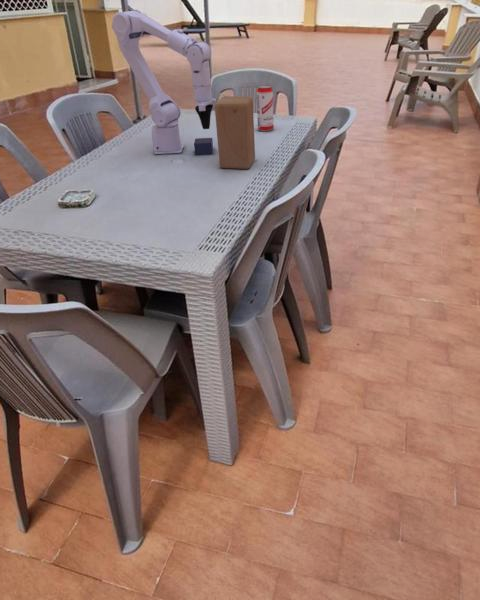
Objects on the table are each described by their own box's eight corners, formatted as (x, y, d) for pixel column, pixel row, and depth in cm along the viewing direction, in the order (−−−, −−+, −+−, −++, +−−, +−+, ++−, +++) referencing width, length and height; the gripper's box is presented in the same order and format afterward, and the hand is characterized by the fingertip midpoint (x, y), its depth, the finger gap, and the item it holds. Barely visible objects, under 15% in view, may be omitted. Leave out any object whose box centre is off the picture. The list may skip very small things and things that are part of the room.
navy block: (195, 155, 161) (193, 143, 158) (196, 149, 165) (195, 138, 163) (212, 154, 161) (211, 142, 158) (213, 149, 165) (212, 137, 163)
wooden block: (249, 170, 146) (246, 103, 135) (219, 169, 148) (213, 103, 137) (255, 159, 154) (253, 95, 143) (227, 158, 156) (222, 95, 145)
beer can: (255, 129, 185) (253, 86, 175) (269, 126, 187) (268, 84, 177) (262, 133, 180) (260, 88, 171) (276, 130, 182) (275, 86, 173)
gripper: (213, 89, 142) (216, 134, 150) (215, 80, 154) (219, 122, 162) (190, 90, 142) (195, 135, 150) (194, 81, 154) (199, 123, 162)
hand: (206, 128), depth 156 cm, fingers closed
